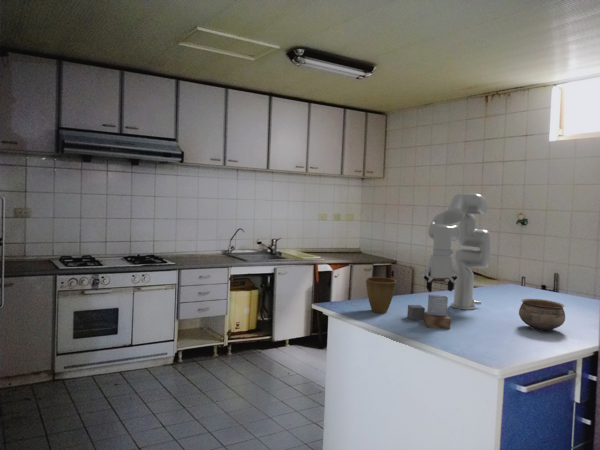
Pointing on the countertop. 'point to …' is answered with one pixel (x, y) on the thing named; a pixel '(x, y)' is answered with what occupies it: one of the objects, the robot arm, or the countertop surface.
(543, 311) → the cooking pot
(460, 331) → the countertop surface
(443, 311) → the medicine box
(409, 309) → the charcoal cube
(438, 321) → the walnut block
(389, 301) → the plant pot
